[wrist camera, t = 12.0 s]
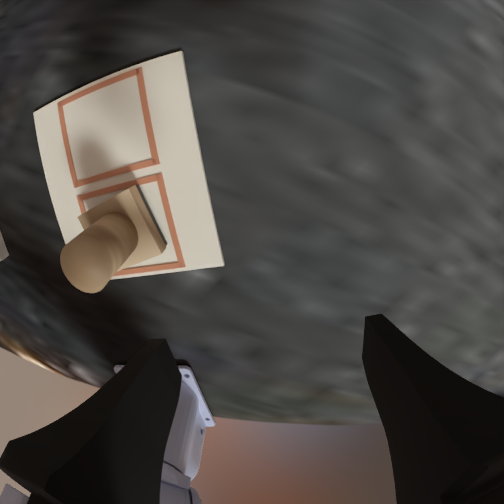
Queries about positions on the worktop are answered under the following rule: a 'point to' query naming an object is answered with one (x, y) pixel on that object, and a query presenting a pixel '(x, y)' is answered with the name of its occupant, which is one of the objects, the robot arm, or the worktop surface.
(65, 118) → the card sheet
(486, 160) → the worktop surface
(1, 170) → the worktop surface
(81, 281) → the stamp
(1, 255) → the ink pad
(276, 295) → the worktop surface
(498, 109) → the worktop surface
